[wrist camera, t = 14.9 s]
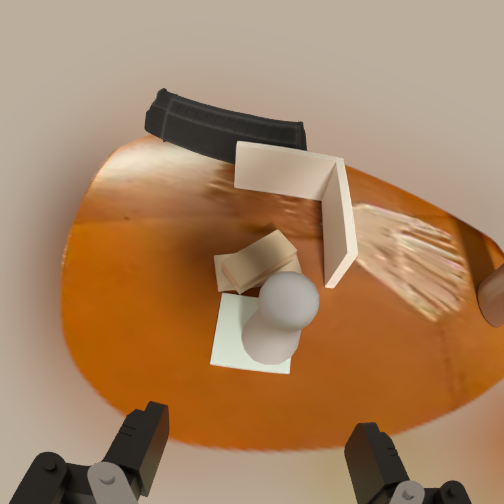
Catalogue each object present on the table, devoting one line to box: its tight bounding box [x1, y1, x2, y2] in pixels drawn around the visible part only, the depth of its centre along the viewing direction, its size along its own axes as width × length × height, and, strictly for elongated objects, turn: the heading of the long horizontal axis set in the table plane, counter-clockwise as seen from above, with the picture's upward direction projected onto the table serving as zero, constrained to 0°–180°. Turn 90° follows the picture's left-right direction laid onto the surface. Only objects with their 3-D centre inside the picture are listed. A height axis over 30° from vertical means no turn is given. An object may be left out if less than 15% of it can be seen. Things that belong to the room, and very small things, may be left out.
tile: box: [210, 293, 291, 374], centre depth 30 cm, size 8×8×1 cm
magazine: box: [145, 88, 307, 164], centre depth 42 cm, size 17×3×30 cm
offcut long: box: [214, 253, 303, 292], centre depth 34 cm, size 10×4×2 cm, turn 100°
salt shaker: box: [241, 271, 319, 365], centre depth 24 cm, size 6×6×13 cm
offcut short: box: [221, 230, 297, 295], centre depth 32 cm, size 8×4×2 cm, turn 126°
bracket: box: [234, 141, 358, 288], centre depth 35 cm, size 15×16×8 cm
